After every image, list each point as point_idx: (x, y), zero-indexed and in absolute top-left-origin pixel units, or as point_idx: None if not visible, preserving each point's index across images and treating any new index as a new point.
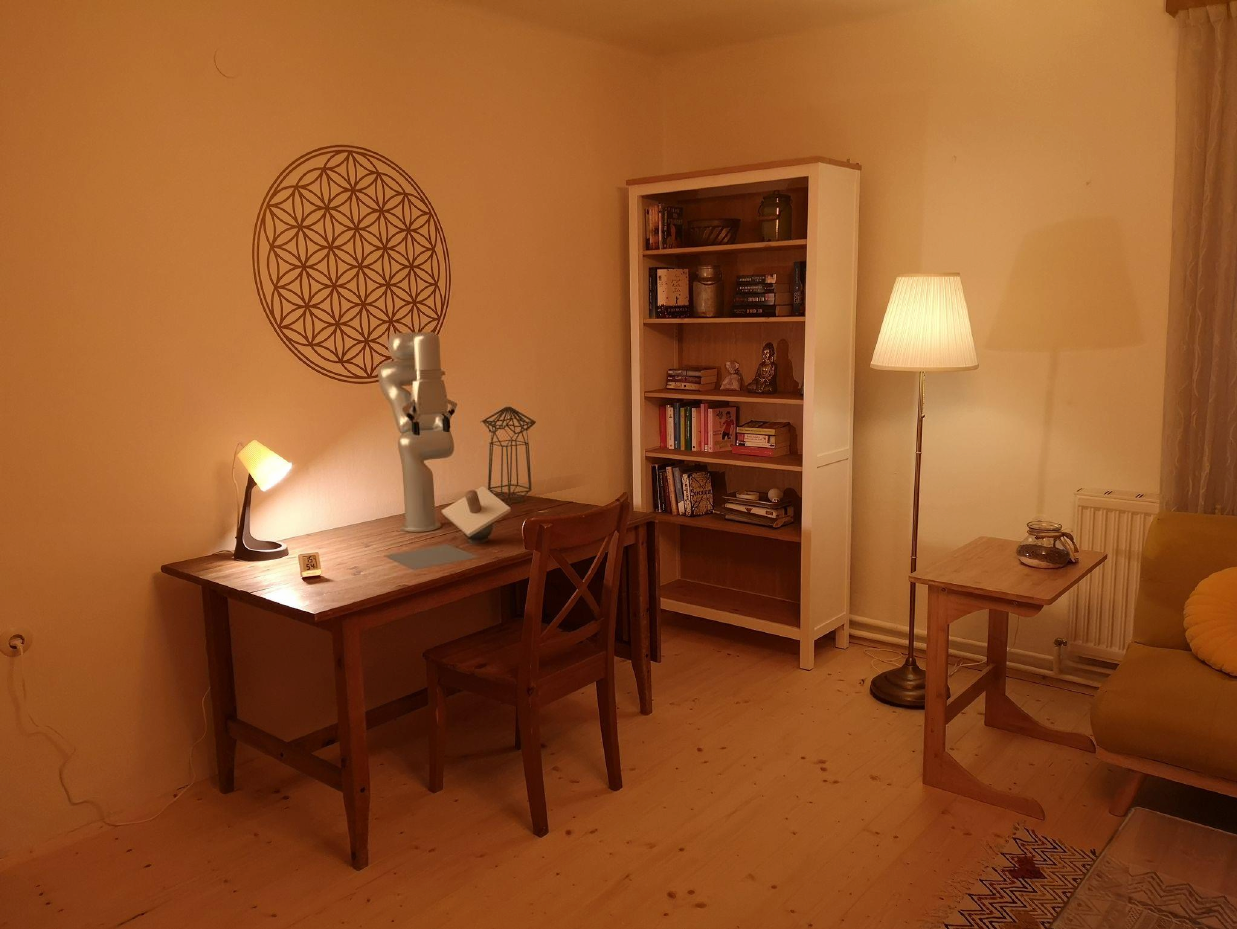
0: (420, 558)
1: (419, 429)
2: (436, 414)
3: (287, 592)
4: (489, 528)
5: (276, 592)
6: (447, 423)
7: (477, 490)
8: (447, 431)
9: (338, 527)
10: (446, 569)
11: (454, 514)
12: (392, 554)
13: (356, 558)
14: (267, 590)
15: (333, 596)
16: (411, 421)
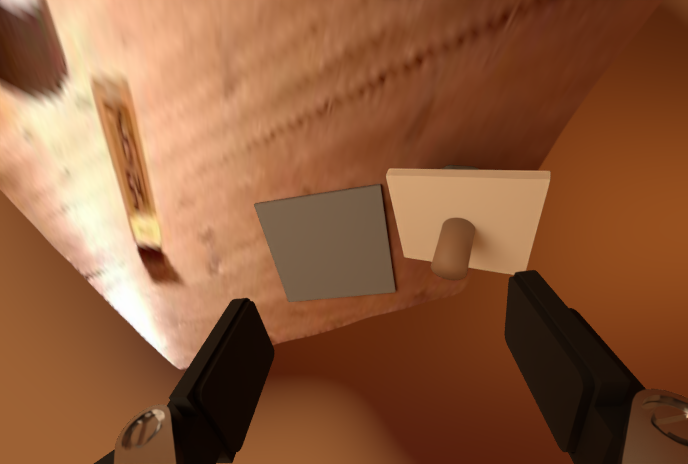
0: (310, 253)
1: (261, 388)
2: None
3: (133, 299)
4: None
5: (119, 292)
6: (546, 409)
7: (518, 184)
8: (507, 342)
9: None
10: (333, 310)
11: (406, 206)
12: (270, 204)
13: (209, 180)
14: (105, 279)
15: (190, 336)
16: (160, 421)
